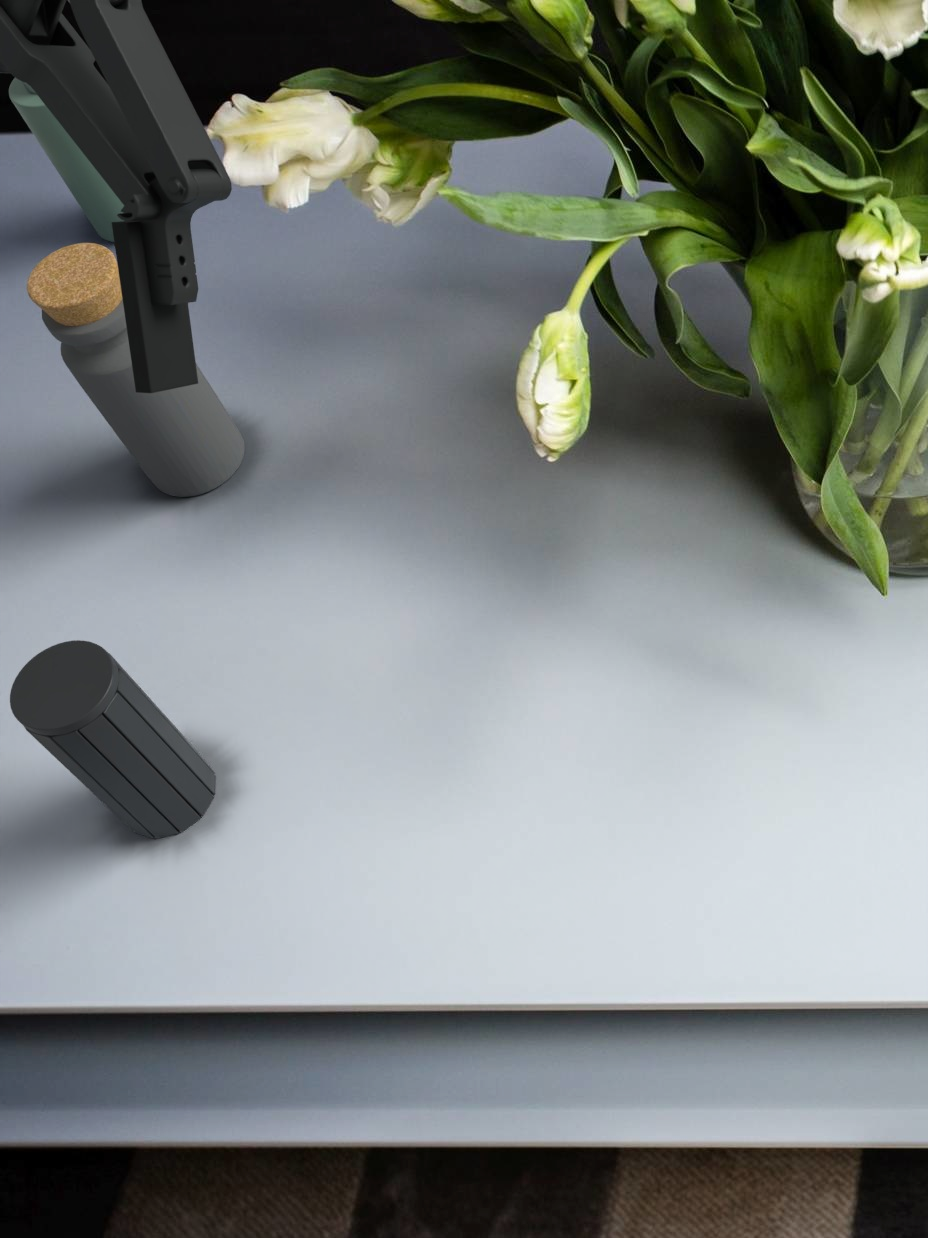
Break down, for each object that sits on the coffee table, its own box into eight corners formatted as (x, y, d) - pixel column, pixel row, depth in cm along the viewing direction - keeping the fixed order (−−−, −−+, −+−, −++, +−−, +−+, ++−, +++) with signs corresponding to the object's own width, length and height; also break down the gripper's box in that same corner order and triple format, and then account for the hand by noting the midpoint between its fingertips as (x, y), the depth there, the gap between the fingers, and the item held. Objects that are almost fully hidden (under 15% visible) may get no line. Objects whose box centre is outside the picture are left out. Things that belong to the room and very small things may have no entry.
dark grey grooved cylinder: (105, 824, 84) (-12, 715, 75) (155, 744, 86) (47, 629, 77) (184, 848, 83) (75, 740, 74) (233, 766, 85) (133, 652, 76)
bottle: (261, 465, 96) (141, 277, 84) (170, 514, 95) (35, 331, 82) (224, 407, 99) (103, 217, 86) (135, 454, 98) (0, 269, 85)
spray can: (83, 237, 109) (-29, 67, 98) (120, 190, 111) (15, 19, 100) (140, 247, 108) (33, 77, 96) (176, 200, 110) (76, 28, 99)
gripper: (284, -196, 60) (343, 381, 67) (-213, -158, 68) (-114, 355, 75) (137, -236, 53) (220, 410, 60) (-395, -189, 61) (-268, 378, 68)
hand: (35, 381), depth 68 cm, fingers open, 13 cm apart
